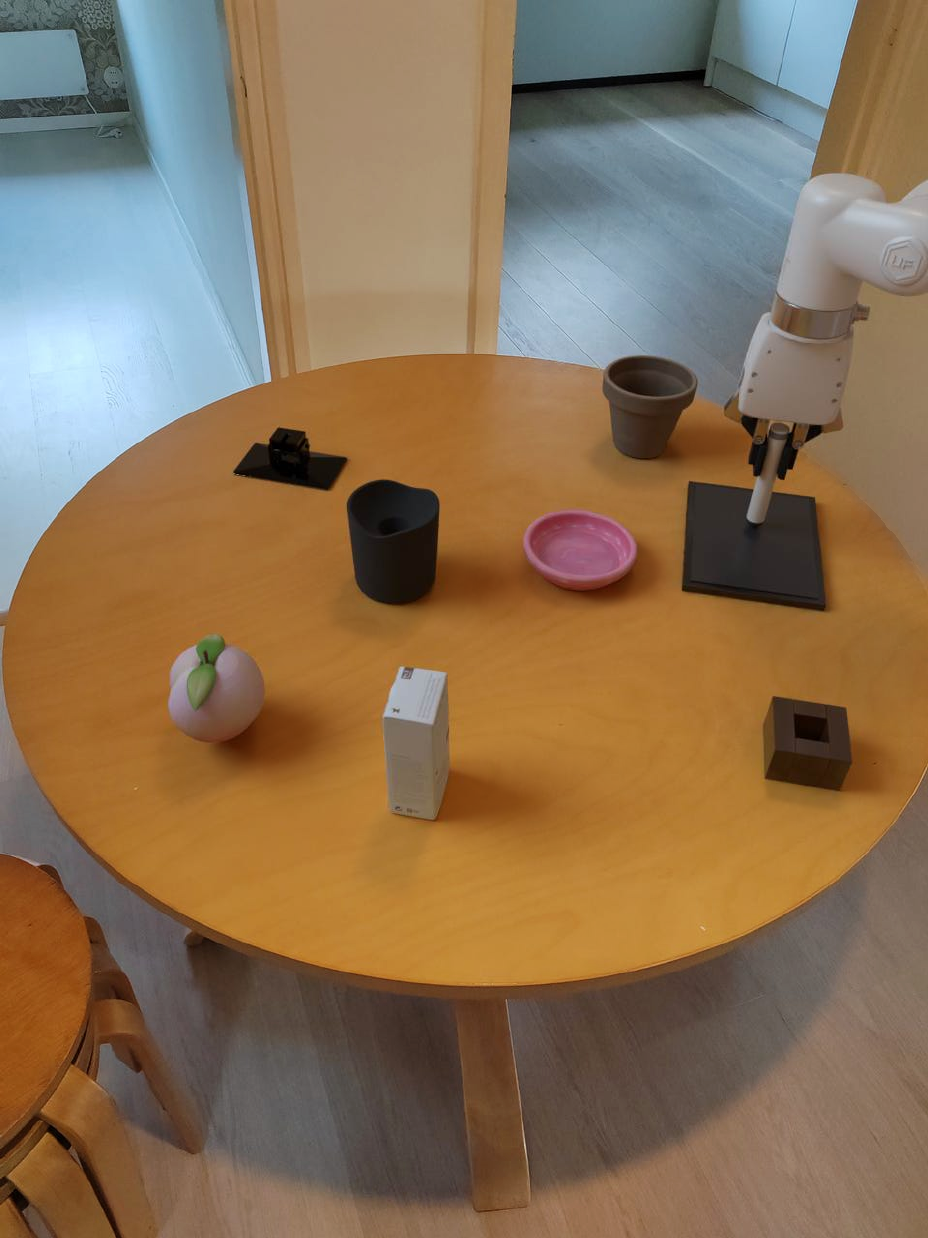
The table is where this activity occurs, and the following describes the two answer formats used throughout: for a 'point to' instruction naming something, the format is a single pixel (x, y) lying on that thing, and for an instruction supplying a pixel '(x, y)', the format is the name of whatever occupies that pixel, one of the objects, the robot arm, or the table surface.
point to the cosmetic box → (417, 742)
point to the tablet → (752, 548)
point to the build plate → (291, 461)
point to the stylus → (767, 474)
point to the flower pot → (646, 401)
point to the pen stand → (806, 743)
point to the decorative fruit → (215, 690)
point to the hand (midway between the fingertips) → (768, 470)
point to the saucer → (579, 549)
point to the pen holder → (393, 540)
